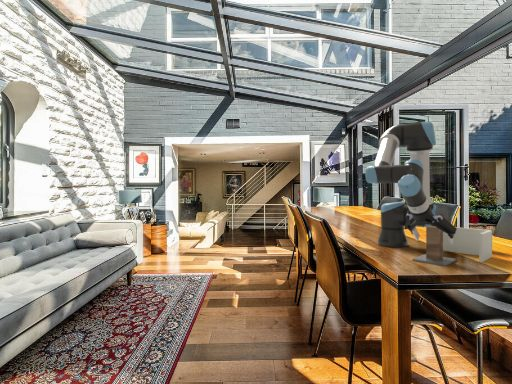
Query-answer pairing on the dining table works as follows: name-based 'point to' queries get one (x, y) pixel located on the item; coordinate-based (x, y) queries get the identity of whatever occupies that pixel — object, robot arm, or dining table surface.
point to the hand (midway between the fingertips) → (434, 240)
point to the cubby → (470, 242)
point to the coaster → (441, 262)
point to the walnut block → (434, 243)
